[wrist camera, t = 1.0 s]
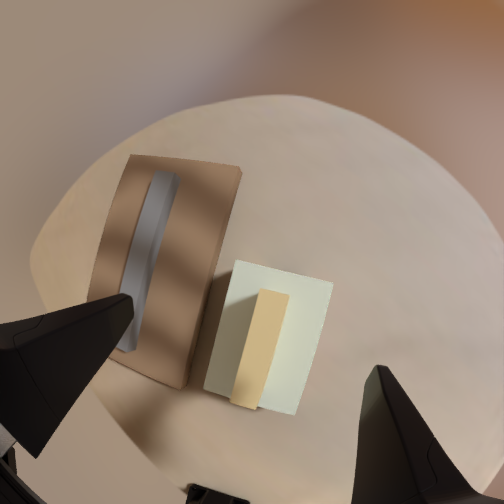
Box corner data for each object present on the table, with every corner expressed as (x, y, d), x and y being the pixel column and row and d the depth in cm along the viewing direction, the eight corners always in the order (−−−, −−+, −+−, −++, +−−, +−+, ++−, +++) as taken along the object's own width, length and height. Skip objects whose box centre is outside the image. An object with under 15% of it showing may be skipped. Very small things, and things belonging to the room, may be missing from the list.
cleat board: (186, 385, 23) (173, 395, 20) (89, 339, 25) (71, 342, 22) (242, 173, 25) (235, 158, 22) (137, 160, 27) (123, 148, 24)
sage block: (295, 397, 21) (292, 440, 14) (217, 375, 23) (182, 407, 15) (327, 285, 22) (342, 279, 15) (246, 265, 24) (220, 250, 16)
